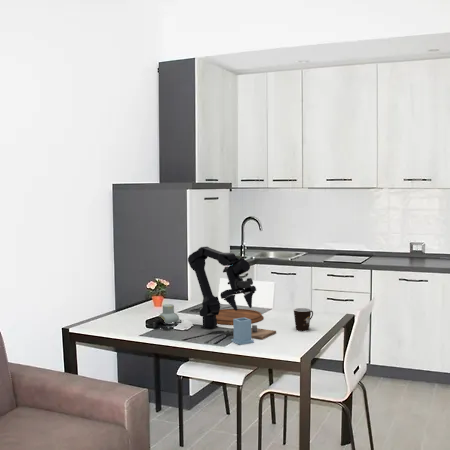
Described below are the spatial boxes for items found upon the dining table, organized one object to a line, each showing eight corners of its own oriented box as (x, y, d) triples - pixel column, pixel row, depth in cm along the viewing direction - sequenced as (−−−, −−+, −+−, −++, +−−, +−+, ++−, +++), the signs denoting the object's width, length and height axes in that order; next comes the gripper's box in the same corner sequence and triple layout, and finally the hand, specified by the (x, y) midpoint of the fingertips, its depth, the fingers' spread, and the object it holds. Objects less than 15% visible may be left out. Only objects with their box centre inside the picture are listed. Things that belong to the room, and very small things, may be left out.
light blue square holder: (231, 341, 285) (231, 318, 284) (245, 339, 288) (245, 316, 288) (239, 344, 278) (239, 322, 277) (253, 342, 282) (253, 320, 281)
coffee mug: (297, 332, 300) (297, 312, 299) (291, 328, 308) (290, 308, 307) (319, 330, 303) (319, 310, 302) (312, 326, 311) (312, 307, 311)
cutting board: (243, 328, 310) (243, 323, 310) (192, 321, 328) (192, 316, 328) (274, 316, 337) (274, 312, 336) (225, 310, 354) (225, 306, 354)
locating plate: (233, 335, 295) (233, 326, 295) (247, 329, 307) (247, 321, 307) (262, 339, 287) (262, 330, 286) (276, 333, 298) (276, 324, 298)
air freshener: (156, 323, 323) (156, 304, 322) (169, 320, 328) (169, 302, 327) (167, 327, 314) (167, 307, 314) (180, 324, 319) (180, 305, 319)
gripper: (229, 274, 284) (239, 307, 280) (258, 270, 296) (268, 301, 292) (215, 282, 292) (225, 313, 288) (244, 278, 304) (253, 308, 300)
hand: (243, 309), depth 292 cm, fingers open, 9 cm apart
